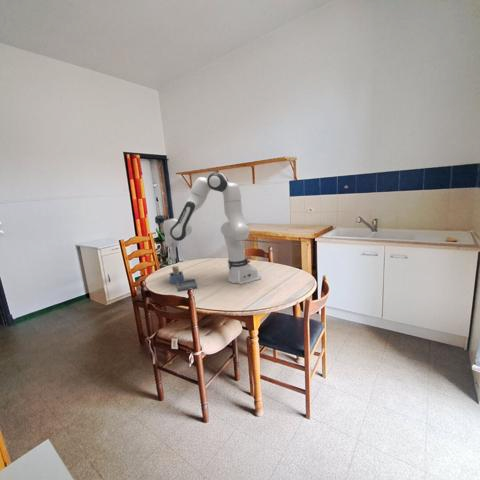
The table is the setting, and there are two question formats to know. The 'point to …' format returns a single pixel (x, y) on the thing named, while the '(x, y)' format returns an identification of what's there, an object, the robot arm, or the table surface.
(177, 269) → the peg
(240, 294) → the table surface
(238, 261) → the robot arm
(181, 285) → the tray
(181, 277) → the blue socket block
